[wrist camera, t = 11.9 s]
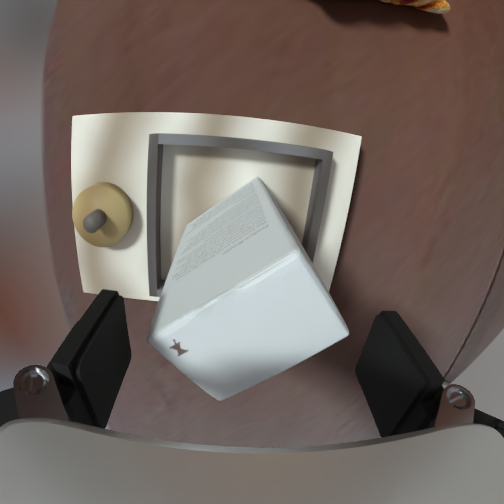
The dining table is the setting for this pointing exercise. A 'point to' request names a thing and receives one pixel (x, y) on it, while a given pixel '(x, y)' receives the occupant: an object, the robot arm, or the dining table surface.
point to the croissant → (424, 5)
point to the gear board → (196, 188)
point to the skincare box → (242, 297)
